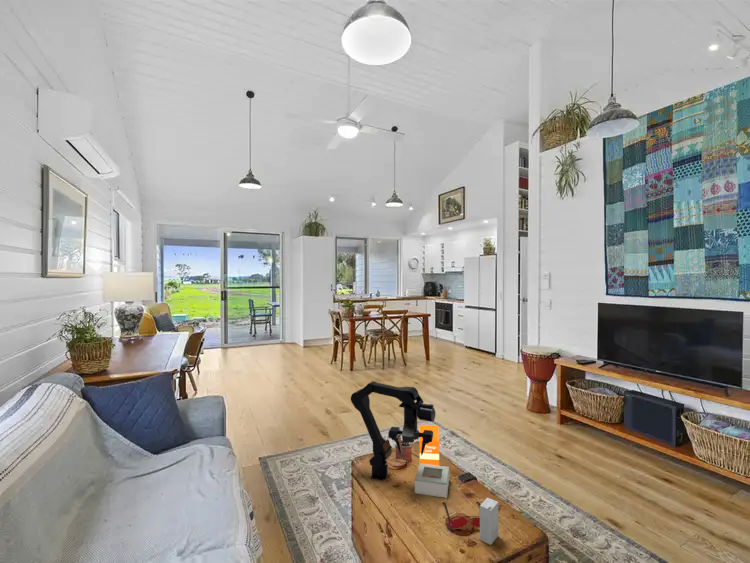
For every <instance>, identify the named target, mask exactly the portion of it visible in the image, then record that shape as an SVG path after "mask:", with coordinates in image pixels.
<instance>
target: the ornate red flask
mask: <svg viewBox="0 0 750 563" xmlns="http://www.w3.org/2000/svg"><path fill="white" fill-rule="evenodd" d="M412 446H413V445H412V443H410V442H403V441H402V439H401V453H400V452H399V449H398V446H397V444H396V443H395V444H394V447H395V459H403V460H406V461H408V462H407V463H412V462H413V458H412V457H413V456H412V454H413V453H412V450H413V449H412V448H413V447H412ZM395 459H394V460H395Z"/></svg>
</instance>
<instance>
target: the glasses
mask: <svg viewBox="0 0 750 563" xmlns="http://www.w3.org/2000/svg"><path fill="white" fill-rule="evenodd" d="M441 503H442V504H444V507H445V511H446V514H447V517H448V520H449V523H450V527H451V528H453V529H454V528H459V527H461V529H462V528H463V527H464V526H467V524H468V523H469V520H468V519H467V518H471V520H472V521H471V524H472V526H474V527H477V528H478V529H480V515H479V516H475V515H473V516H471V515H467V516H459V517H457V516H454V517H452V518H451V517H450V514H449V510H448V507H447V504H446V503H447V502H446V501H442V502H441ZM476 504H478V505H479V507H480V505H481V503H480V502H479V501H476Z"/></svg>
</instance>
